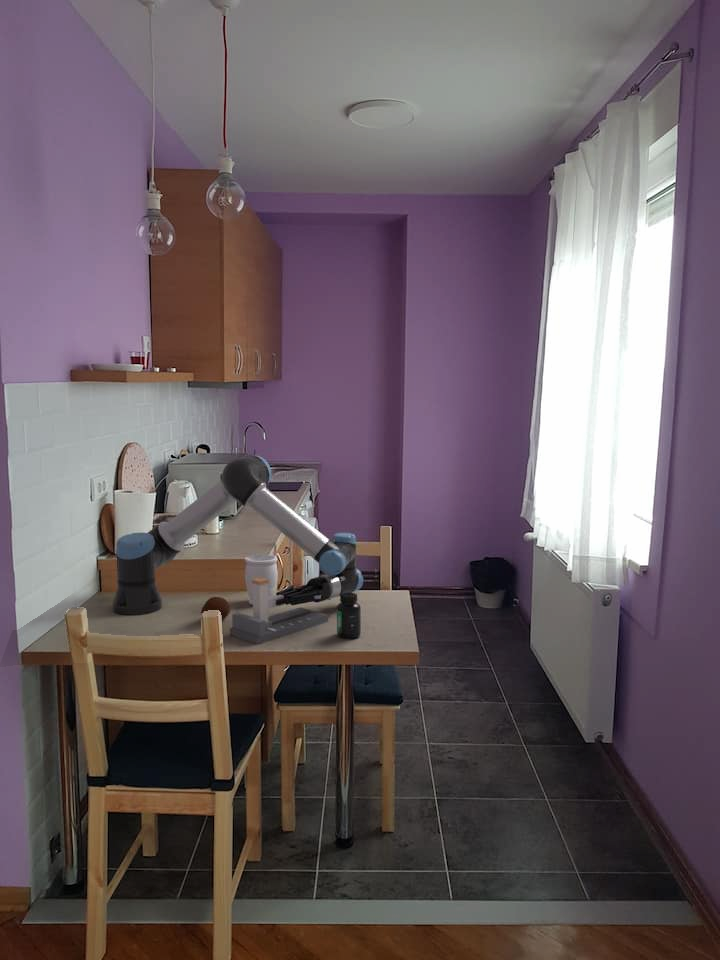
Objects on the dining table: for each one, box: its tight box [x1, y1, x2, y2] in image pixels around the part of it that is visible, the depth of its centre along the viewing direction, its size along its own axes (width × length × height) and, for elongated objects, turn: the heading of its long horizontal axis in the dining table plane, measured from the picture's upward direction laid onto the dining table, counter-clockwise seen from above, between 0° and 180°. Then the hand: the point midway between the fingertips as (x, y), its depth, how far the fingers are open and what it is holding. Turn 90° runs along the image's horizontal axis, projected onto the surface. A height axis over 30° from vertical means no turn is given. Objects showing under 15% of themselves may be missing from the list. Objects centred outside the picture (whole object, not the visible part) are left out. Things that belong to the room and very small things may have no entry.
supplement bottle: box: [336, 592, 362, 640], centre depth 222 cm, size 7×7×12 cm
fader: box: [252, 578, 272, 628], centre depth 223 cm, size 4×5×14 cm
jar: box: [244, 554, 279, 606], centre depth 255 cm, size 11×10×15 cm
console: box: [229, 607, 329, 645], centre depth 229 cm, size 28×12×6 cm, turn 138°
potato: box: [200, 596, 231, 621], centre depth 235 cm, size 8×12×8 cm, turn 166°
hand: (265, 604), depth 224 cm, fingers closed
